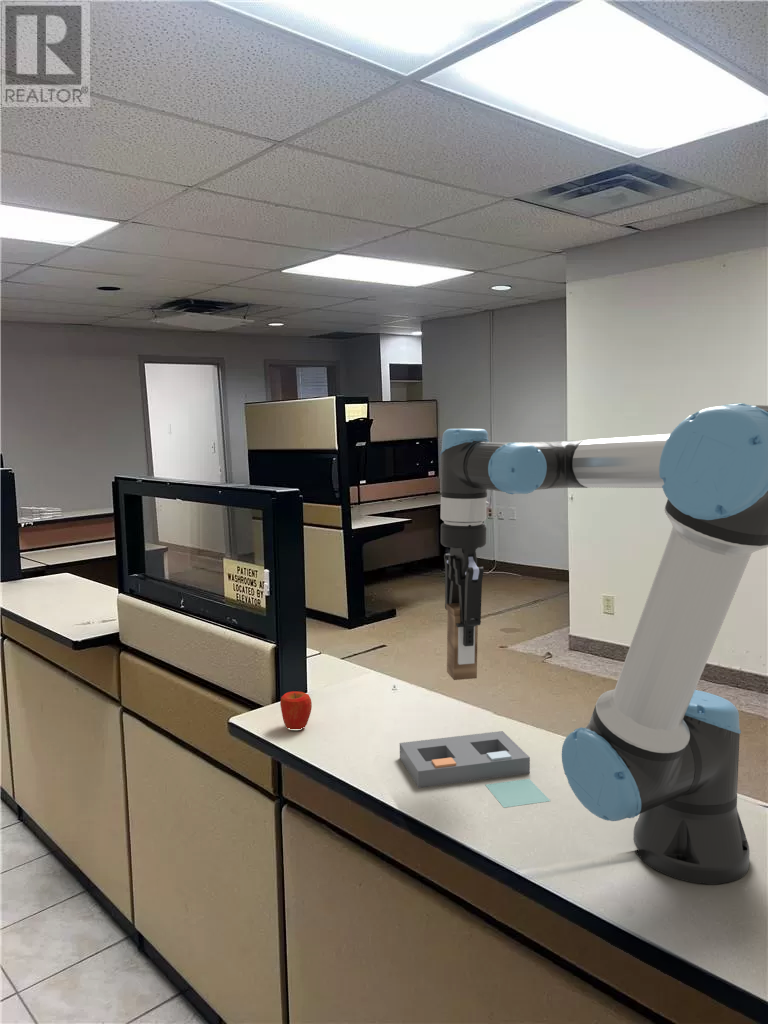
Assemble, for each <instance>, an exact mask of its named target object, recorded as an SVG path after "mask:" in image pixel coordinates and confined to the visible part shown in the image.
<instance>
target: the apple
mask: <svg viewBox="0 0 768 1024" xmlns="http://www.w3.org/2000/svg"><path fill="white" fill-rule="evenodd" d="M279 705H280V710H281V716H282V720H283V723H284V726H285V727H287V728H290V729H301V728H303V727H305V728H306V726H307V725H308V722H309V718H310V716H311V713H312V707H313V706H312V705H313V704H312V699H311V696H310V694H308V693H306V692H303V691H296V690H295V691H294V690H293V691H288V692H286V693H284V694H283V695H282V696H281V697H280V704H279ZM287 728H286V729H287ZM303 729H304V728H303Z"/></svg>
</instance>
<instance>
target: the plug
mask: <svg viewBox="0 0 768 1024" xmlns="http://www.w3.org/2000/svg"><path fill="white" fill-rule="evenodd" d="M445 610H446V611H447V620H446V621H447V625H446V627H447V630H446V631H447V632H446V635H447V637H446V673H447V674H448V675H449V677H451V679H453V681H460V680H472V679H474V680H475V679H477V678H478V631H479V630H478V629H479V628H478V627H479V625H477V626H475V663H474V664H461V665H459V664H458V627H457V626H456V623H460V604H459V603H452V604H446V609H445Z"/></svg>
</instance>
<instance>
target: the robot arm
mask: <svg viewBox="0 0 768 1024" xmlns="http://www.w3.org/2000/svg"><path fill="white" fill-rule="evenodd" d="M441 440H442V441H441V451H440V458H441V459H440V460H441V461H440V465H441V467H440V473H441V474H440V476H441V477H440V479H441V481H440V482H441V483H440V484H441V486H440V487H441V488H440V491H441V495H440V520H442V521H443V522H442V523H441V524H440V544H441V545H442V546H443V547H445V548H450V549H449V553H444V555H443V559H444V577H445V578H444V580H445V581H444V584H445V585H444V594H445V595H444V600H445V601H444V604H445V605H444V608H445V610H446V604H452V603H459V604H460V623H456V626H457V627H458V664H459V665H461V664H474V663H475V626H477V625H478V626H480V625H481V623H482V621H481V620H482V594H483V593H482V591H483V590H482V588H483V579H484V578H483V577H484V574H485V573H484V572H485V570H484V566H479V560H478V559H479V558H478V557H477V552H476V551H477V549H479V548H483V547H485V546H486V544H487V525H486V524H485V521H486V520H487V508H488V507H490V506H489V505H490V503H489V501H487V496H488V491H487V490H490V491H496V492H501V493H506V494H507V495H515V494H517V495H527V494H531V493H533V492H534V491H538V490H540V491H541V490H548V489H549V490H550V489H551V490H552V489H588V488H590V489H591V488H597V489H598V488H599V489H602V488H604V489H605V488H606V489H608V488H609V489H610V488H611V489H612V488H613V489H615V488H616V489H619V488H620V489H629V488H630V489H662V491H663V493H664V495H665V497H666V498H667V501H666V503H665V505H664V506H665V507H664V513H665V515H666V517H667V518H668V520H669V522H670V523H671V525H672V528H671V531H670V533H669V537H668V540H667V542H666V545H665V548H664V551H663V554H662V557H661V559H660V562H659V565H658V568H657V570H656V573H655V576H654V579H653V581H652V584H651V586H650V590H649V592H648V595H647V599H646V601H645V604H644V607H643V608H642V609H643V610H642V612H641V615H640V618H639V620H638V623H637V626H636V629H635V632H634V634H633V636H632V640H631V642H630V646H629V648H628V651H627V654H626V657H625V659H624V662H623V664H622V668H621V671H620V673H619V676H618V679H617V682H616V685H615V687H614V689H609V690H607V691H604V692H603V693H602V694H600V696H599V697H598V698H597V700H596V703H595V705H594V708H593V711H592V714H591V715H590V716H591V717H590V720H589V723H587V725H586V726H585V727H583V726H582V727H579V728H575V729H574V731H572V732H570V733H569V734H567V736H566V737H565V739H564V741H563V743H562V748H561V763H562V768H563V772H564V774H565V777H566V778H567V782H568V785H569V787H570V789H571V790H572V792H573V794H574V795H575V797H576V798H577V800H578V801H579V802H580V803H581V805H582V806H583V807H584V808H585V809H587V811H588V812H590V813H591V814H593V815H594V816H595V817H597V818H600V819H602V820H604V821H608V822H609V821H610V822H619V821H622V820H625V819H634V818H635V817H638V819H637V821H636V822H635V824H634V827H633V842H634V844H635V846H636V848H637V849H634V851H635V853H636V854H637V856H638V857H639V858H640V859H641V860H642V861H643V863H645V864H647V866H649V867H651V868H652V869H654V870H656V871H658V872H660V873H662V874H664V875H666V876H668V877H671V878H674V879H678V880H680V881H685V882H691V883H696V884H703V885H704V884H706V885H713V884H714V885H717V884H725V883H726V884H727V883H730V882H734V881H736V880H739V879H741V878H742V877H744V876H745V875H746V874H747V873H748V871H749V870H750V869H749V868H750V854H751V853H750V851H751V850H750V846H749V842H748V839H747V836H746V832H745V830H744V827H743V823H742V820H741V816H740V814H739V811H738V810H739V809H738V786H739V783H738V781H739V756H740V738H741V737H740V734H741V733H742V731H741V729H740V712H739V710H738V708H737V707H736V705H735V704H733V702H732V701H730V700H728V699H727V698H724V697H722V696H720V695H716V694H713V693H710V692H706V691H702V690H699V689H698V690H697V687H698V685H699V684H698V683H699V682H700V679H701V677H702V674H703V672H704V669H705V668H706V665H707V662H708V660H709V658H710V655H711V652H712V651H713V647H714V646H715V643H716V641H717V637H719V633H720V631H721V629H722V625H723V623H724V622H725V619H726V616H727V613H728V612H729V609H730V606H731V604H732V602H733V599H734V597H735V595H736V592H737V589H738V587H739V584H740V583H741V580H742V577H743V576H744V574H745V571H746V568H747V566H748V564H749V561H750V558H751V556H752V554H753V553H755V552H759V551H760V550H763V549H766V548H768V405H760V404H759V405H757V404H747V403H743V402H740V403H739V402H736V403H735V402H734V403H730V404H722V405H717V406H710V407H706V408H703V409H700V410H699V411H696V412H693V413H692V414H690V415H689V416H687V417H685V419H683V420H682V421H681V422H680V423H679V424H678V425H677V426H676V427H675V428H673V430H672V431H671V432H670V433H663V434H662V433H661V434H660V433H659V434H647V435H635V436H633V435H632V436H619V437H607V438H604V437H603V438H591V439H576V440H564V441H563V440H560V441H558V440H557V441H520V442H519V441H518V442H517V441H515V442H512V441H511V442H502V441H501V442H499V441H497V442H496V441H495V442H494V441H490V440H489V432H488V431H487V430H486V429H484V428H447V429H446V430H445V431H444V432H443V433H442V438H441Z"/></svg>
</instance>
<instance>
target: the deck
mask: <svg viewBox="0 0 768 1024" xmlns="http://www.w3.org/2000/svg"><path fill="white" fill-rule="evenodd" d="M484 786H485V787H486V788H487V789H488V790H489V792H490V793H491V794H492V795H493V797H494V798H495V799H496V800H497V801H498V803H499V804H500V805H501V806H502V808H504V809H507V808H513V807H519V806H525V805H533V804H541V803H546V802H551V799H550V798H549V797H548V796H547V795H546V794H545V793H544V792H543V791H542V790H541V789H540V788H539V787H538V786H537V785H536V784H535V783H534V782H533V781H532V780H531V779H530V778H525V779H518V780H510V781H501V782H496V783H488V784H487V783H486V784H485V785H484Z"/></svg>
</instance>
